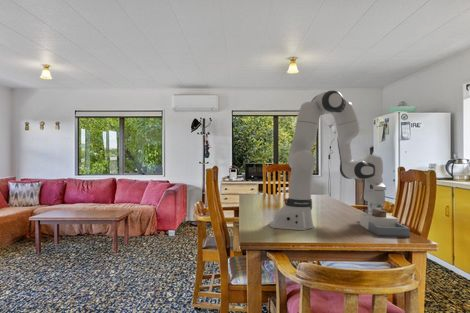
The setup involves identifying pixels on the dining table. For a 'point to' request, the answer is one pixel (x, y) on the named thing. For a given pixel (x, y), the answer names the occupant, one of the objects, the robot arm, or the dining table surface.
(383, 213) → the walnut tile
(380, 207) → the syrup box
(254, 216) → the dining table surface
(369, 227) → the box
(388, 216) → the raised plate
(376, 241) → the dining table surface
